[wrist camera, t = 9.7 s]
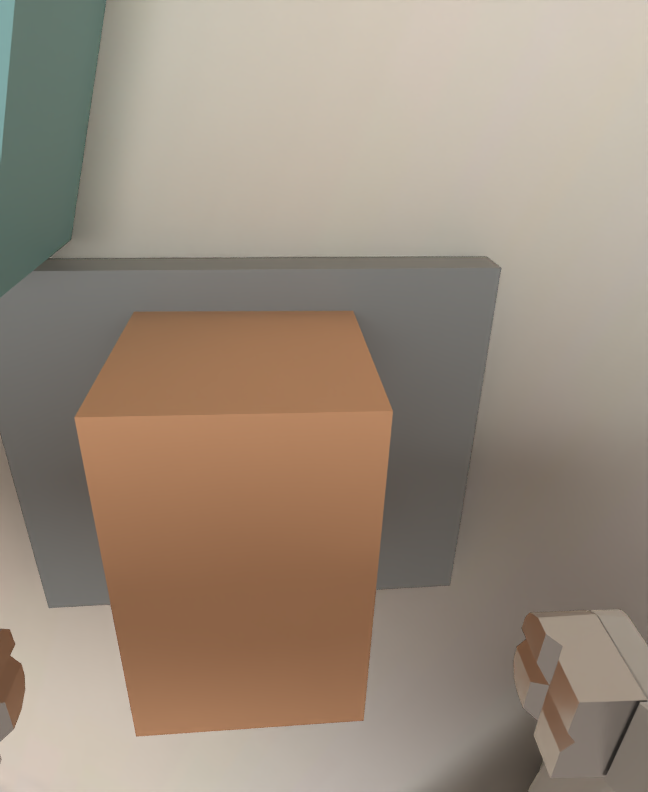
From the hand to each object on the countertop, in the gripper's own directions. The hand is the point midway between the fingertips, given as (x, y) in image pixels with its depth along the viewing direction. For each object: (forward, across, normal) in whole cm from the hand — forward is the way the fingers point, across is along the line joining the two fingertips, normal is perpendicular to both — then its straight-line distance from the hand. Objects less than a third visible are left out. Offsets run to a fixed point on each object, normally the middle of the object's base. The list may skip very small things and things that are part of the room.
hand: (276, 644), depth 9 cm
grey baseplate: (+7, +1, +1) cm, 7 cm away
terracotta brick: (+6, +1, +1) cm, 6 cm away
